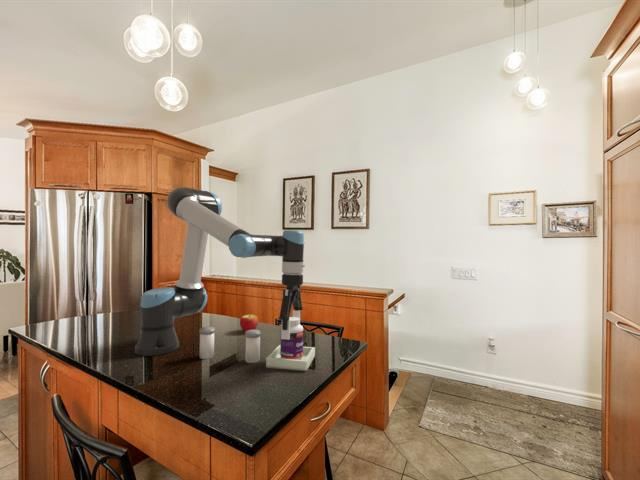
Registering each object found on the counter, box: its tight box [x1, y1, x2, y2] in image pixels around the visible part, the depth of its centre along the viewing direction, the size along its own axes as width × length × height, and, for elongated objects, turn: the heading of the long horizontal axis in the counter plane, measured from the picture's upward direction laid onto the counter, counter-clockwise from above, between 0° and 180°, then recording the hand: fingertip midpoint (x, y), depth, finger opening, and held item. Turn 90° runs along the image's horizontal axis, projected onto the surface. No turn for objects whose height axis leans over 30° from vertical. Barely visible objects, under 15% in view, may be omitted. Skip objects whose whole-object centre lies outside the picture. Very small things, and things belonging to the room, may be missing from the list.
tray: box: [265, 344, 316, 372], centre depth 109 cm, size 14×14×3 cm
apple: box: [239, 309, 259, 333], centre depth 145 cm, size 8×8×10 cm
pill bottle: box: [280, 316, 304, 360], centre depth 109 cm, size 8×8×14 cm
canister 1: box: [198, 326, 216, 360], centre depth 113 cm, size 5×5×10 cm
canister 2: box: [244, 329, 262, 364], centre depth 110 cm, size 5×5×10 cm
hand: (291, 333), depth 109 cm, fingers open, 13 cm apart
